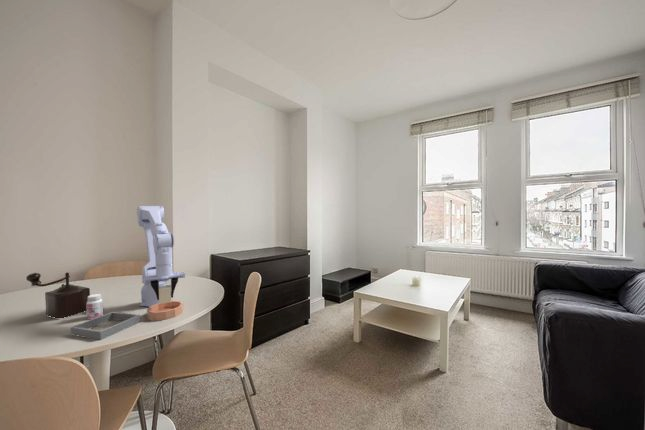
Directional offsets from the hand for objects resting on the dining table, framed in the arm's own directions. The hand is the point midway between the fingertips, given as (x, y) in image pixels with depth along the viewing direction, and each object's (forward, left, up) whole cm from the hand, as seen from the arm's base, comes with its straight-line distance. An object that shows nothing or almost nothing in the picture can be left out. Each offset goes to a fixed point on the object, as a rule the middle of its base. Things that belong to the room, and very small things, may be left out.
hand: (165, 298), depth 105 cm
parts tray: (-10, -15, -6) cm, 19 cm away
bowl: (0, 0, -6) cm, 6 cm away
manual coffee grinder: (-41, -11, -7) cm, 43 cm away
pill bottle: (-25, -9, -7) cm, 27 cm away
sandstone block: (0, 0, -1) cm, 1 cm away
